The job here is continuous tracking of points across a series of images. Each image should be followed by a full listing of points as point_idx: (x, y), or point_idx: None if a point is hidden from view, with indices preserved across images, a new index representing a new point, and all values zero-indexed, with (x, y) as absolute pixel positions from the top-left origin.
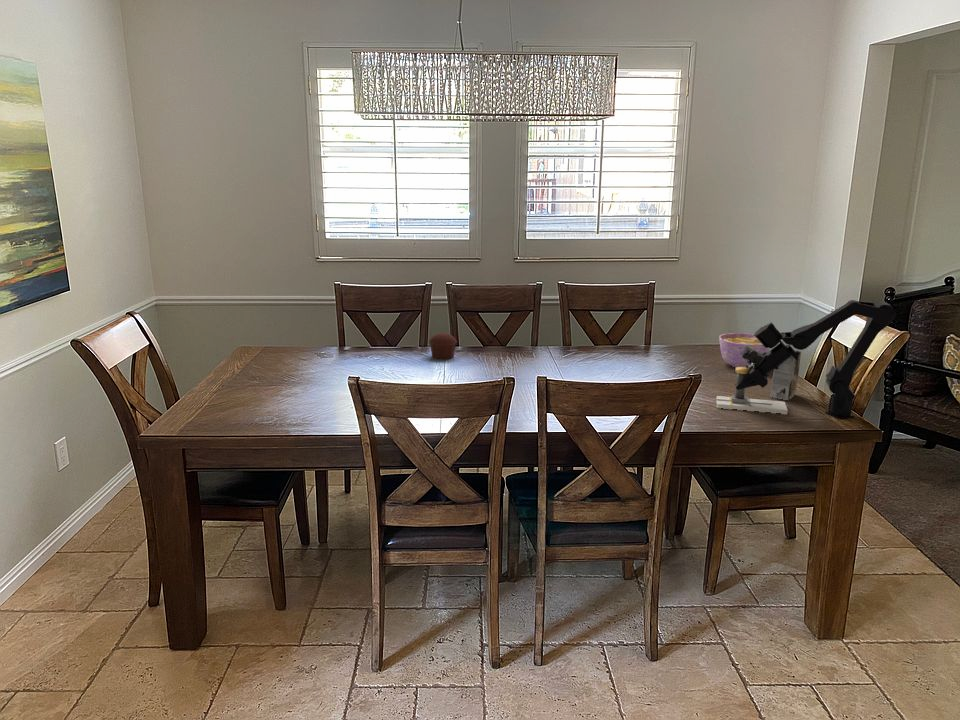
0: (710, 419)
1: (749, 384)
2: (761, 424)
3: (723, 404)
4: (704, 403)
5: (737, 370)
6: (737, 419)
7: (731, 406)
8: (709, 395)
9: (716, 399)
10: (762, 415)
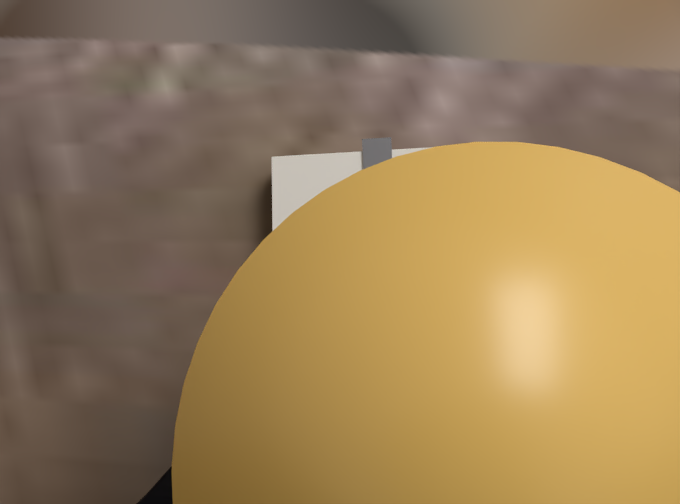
0: (41, 137)
1: None
2: (13, 466)
3: (272, 200)
4: (360, 84)
5: (288, 232)
6: (79, 304)
7: None
8: (574, 107)
9: (376, 145)
10: None
